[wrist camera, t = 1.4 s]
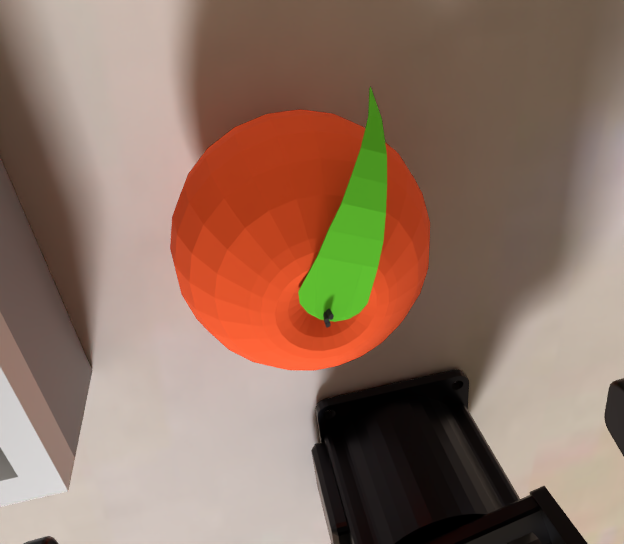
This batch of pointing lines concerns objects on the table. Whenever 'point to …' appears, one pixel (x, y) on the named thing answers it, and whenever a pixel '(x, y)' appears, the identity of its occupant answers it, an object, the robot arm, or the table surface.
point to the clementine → (301, 239)
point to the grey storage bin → (35, 366)
